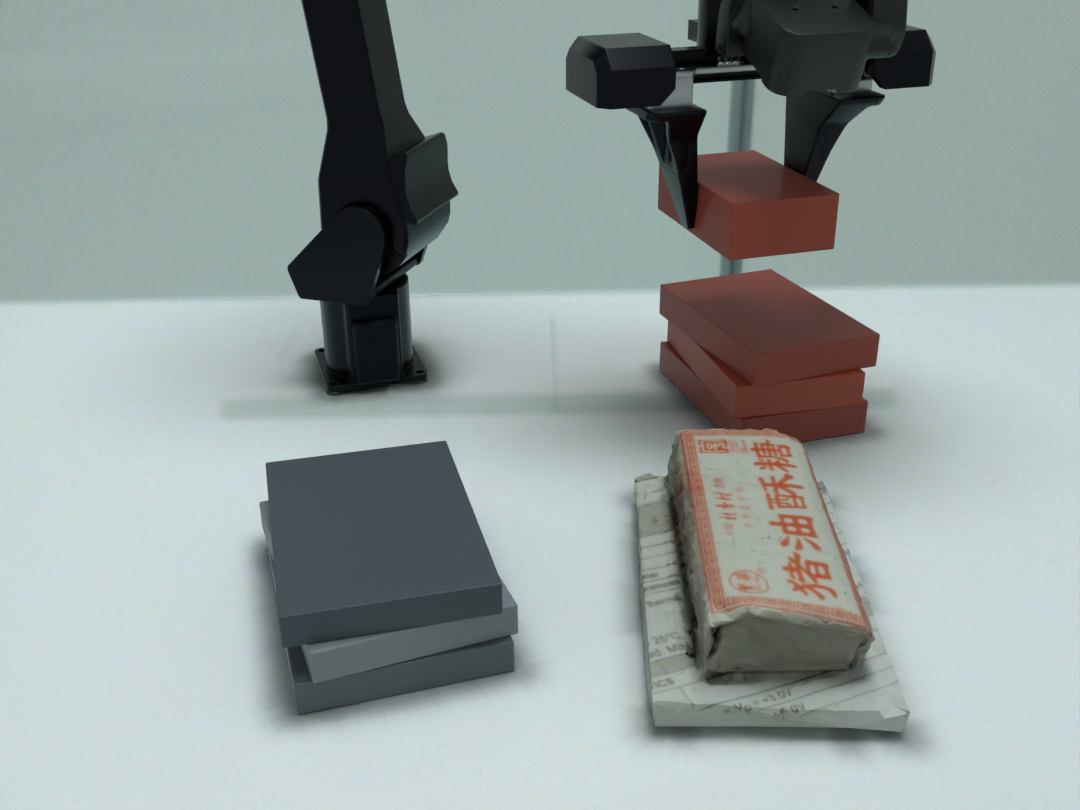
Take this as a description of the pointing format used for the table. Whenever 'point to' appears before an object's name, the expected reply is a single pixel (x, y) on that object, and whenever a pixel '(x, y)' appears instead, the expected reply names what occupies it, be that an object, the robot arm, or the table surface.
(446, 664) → the grey book pile
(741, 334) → the rust book pile
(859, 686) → the packaged product
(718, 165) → the rust red block
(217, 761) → the table surface
